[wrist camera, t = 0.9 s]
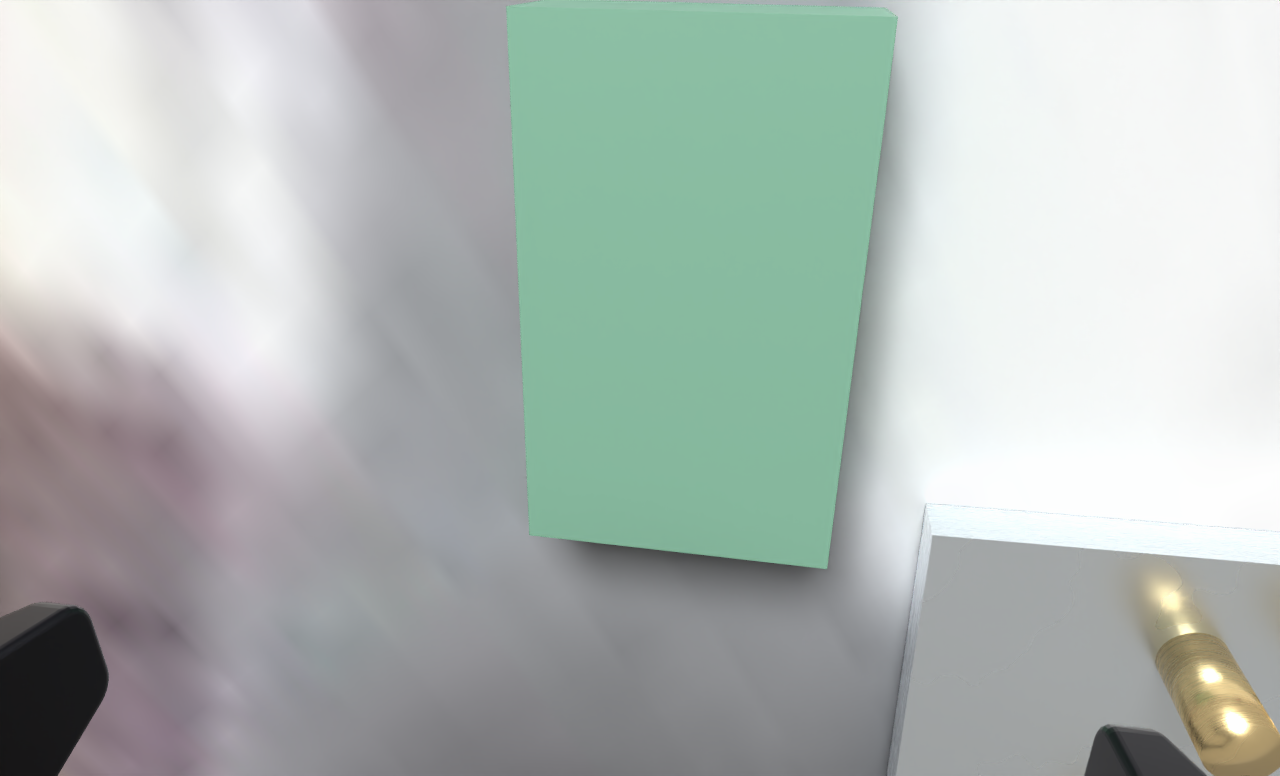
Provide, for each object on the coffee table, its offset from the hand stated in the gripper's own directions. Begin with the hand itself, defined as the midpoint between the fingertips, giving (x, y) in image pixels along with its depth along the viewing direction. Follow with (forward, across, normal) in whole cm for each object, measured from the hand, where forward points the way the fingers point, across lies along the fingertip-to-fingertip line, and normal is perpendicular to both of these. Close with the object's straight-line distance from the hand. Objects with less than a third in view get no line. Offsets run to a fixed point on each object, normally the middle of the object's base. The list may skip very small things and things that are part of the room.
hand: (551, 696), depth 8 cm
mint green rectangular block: (+12, 0, 0) cm, 12 cm away
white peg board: (+12, -12, +11) cm, 20 cm away
